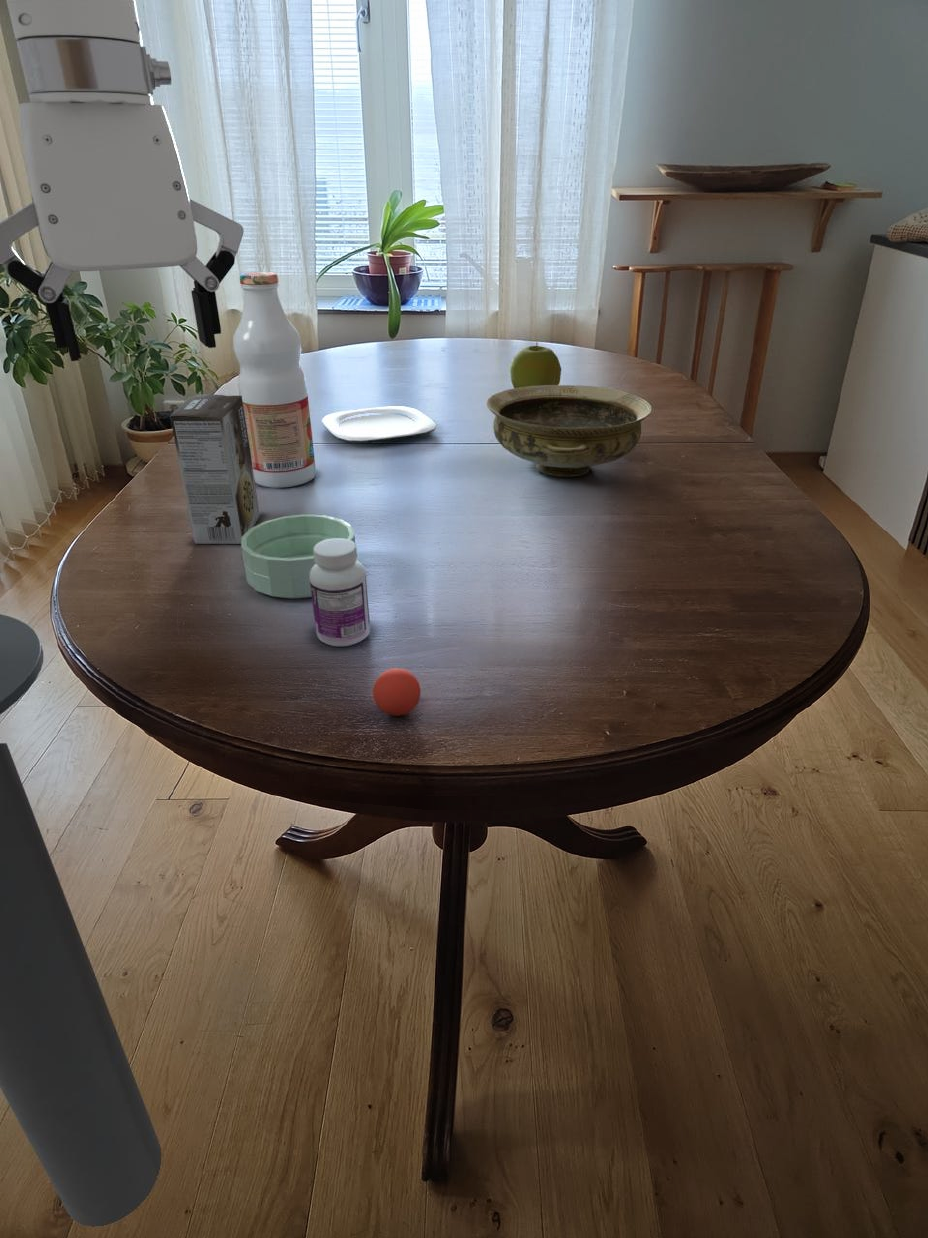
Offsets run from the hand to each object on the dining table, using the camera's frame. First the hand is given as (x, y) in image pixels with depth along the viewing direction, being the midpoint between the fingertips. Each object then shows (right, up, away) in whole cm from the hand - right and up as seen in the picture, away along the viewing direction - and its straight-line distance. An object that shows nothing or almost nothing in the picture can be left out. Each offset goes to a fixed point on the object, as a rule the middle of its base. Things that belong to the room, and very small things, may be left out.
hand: (143, 350), depth 60 cm
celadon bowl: (+6, -16, +29) cm, 34 cm away
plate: (+10, +12, +77) cm, 79 cm away
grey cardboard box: (-6, -9, +41) cm, 42 cm away
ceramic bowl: (+40, +2, +60) cm, 72 cm away
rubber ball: (+19, -27, +6) cm, 33 cm away
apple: (+38, +22, +94) cm, 104 cm away
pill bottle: (+12, -22, +18) cm, 31 cm away
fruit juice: (-2, 0, +57) cm, 57 cm away
